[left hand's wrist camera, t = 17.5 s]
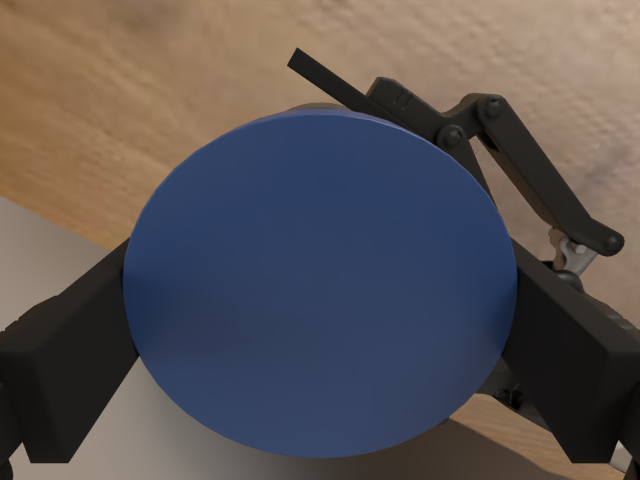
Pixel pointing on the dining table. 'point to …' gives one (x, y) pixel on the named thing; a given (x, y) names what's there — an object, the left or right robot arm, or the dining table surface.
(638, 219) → the dining table surface
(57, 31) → the dining table surface
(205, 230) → the lid
